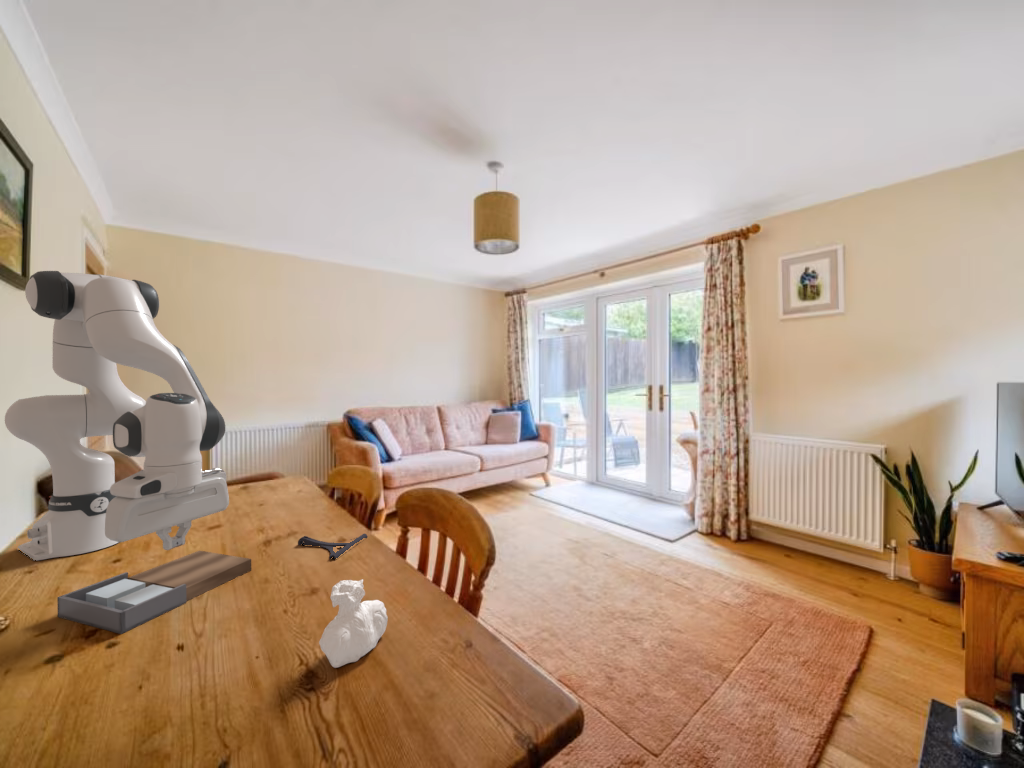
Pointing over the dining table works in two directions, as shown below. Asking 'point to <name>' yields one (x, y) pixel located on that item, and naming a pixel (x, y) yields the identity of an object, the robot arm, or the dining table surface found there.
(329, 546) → the bracket
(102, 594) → the tile
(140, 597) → the tile
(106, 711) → the dining table surface
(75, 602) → the tray
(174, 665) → the dining table surface
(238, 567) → the board
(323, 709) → the dining table surface
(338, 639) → the bust
